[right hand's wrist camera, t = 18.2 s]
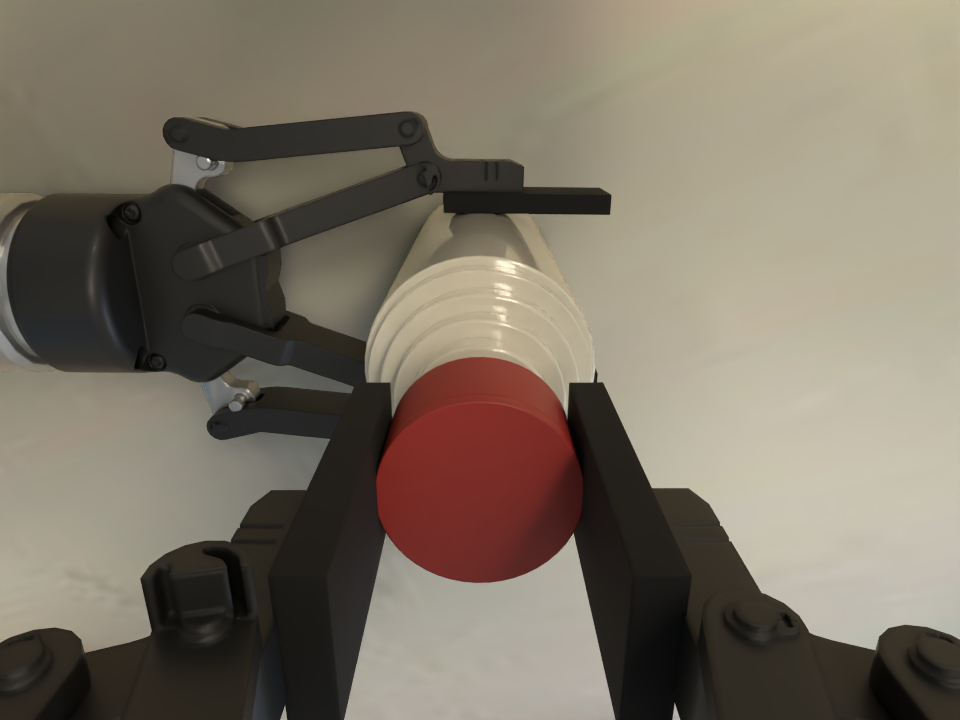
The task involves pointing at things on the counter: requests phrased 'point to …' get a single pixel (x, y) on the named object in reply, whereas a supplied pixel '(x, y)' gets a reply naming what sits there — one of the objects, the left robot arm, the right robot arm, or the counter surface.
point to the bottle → (479, 305)
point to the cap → (479, 472)
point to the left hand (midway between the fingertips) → (597, 289)
